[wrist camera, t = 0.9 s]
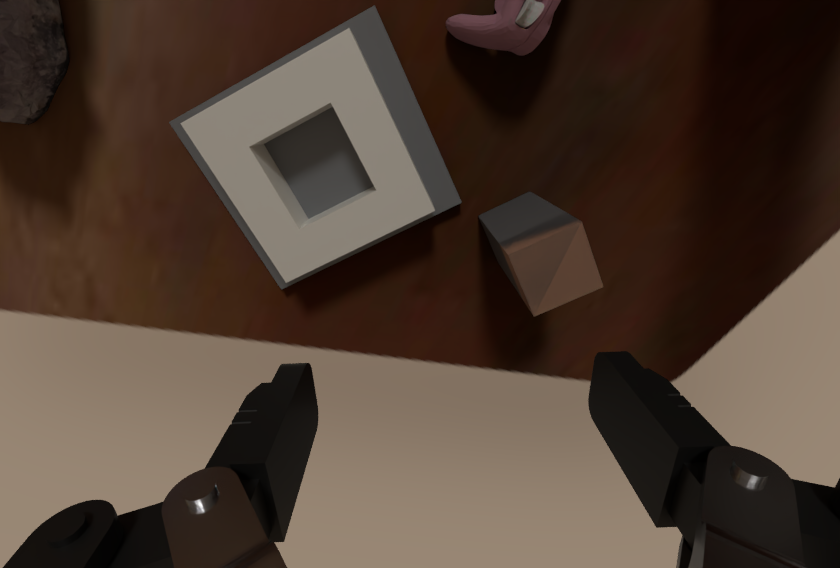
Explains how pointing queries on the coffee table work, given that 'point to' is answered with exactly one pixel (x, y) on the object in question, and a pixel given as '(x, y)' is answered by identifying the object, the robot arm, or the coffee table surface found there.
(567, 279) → the plug
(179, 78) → the coffee table surface
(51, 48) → the geode
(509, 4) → the video game controller
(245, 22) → the coffee table surface
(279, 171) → the socket
